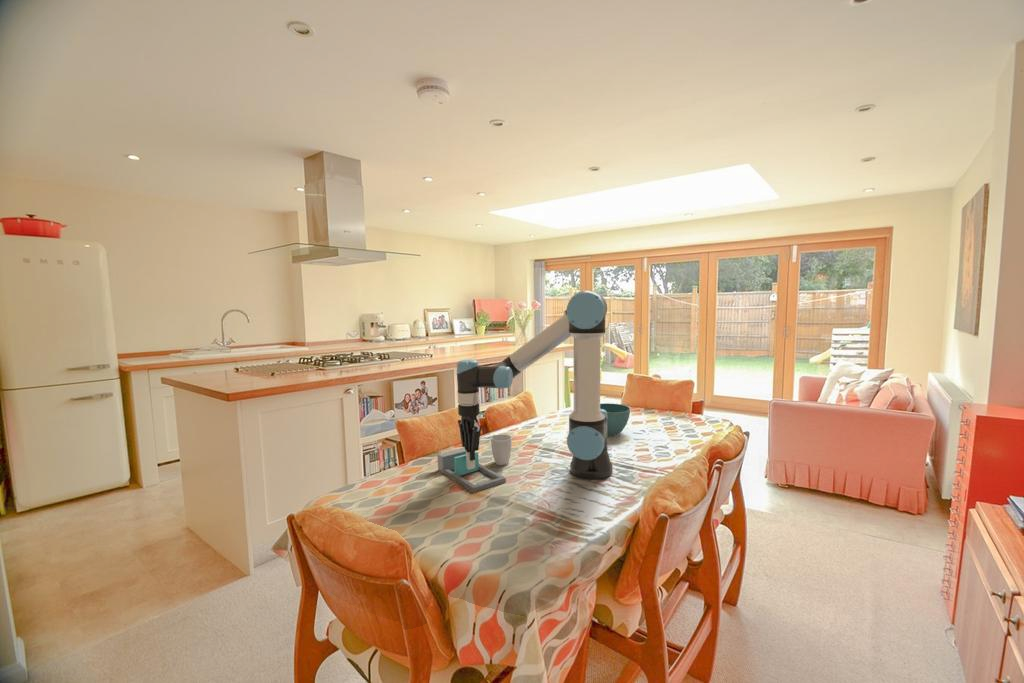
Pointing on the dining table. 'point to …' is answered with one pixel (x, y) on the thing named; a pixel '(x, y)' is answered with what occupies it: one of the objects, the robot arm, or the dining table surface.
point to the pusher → (464, 464)
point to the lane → (448, 465)
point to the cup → (501, 448)
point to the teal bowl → (616, 417)
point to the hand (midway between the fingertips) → (470, 468)
